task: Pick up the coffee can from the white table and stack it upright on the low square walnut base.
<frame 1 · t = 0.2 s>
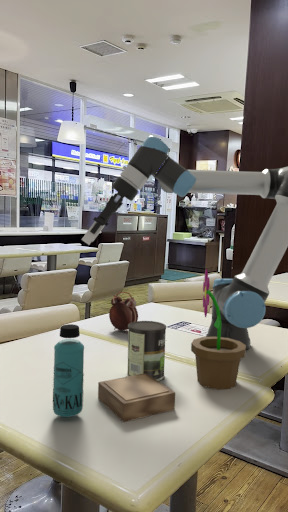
hand: (87, 240, 127), 35 cm above the table, tool tilted 35°, fingers open, 13 cm apart
flowerpot: (216, 382, 113), on the table
beverage bottle: (68, 417, 91), on the table
alarm clock: (122, 331, 159), on the table
walnut base: (135, 403, 98), on the table
coffee can: (145, 376, 116), on the table
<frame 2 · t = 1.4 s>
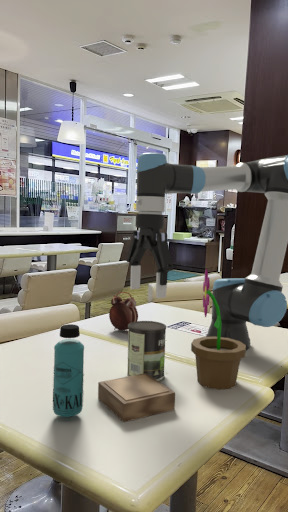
hand: (147, 293, 114), 23 cm above the table, tool pointing down, fingers open, 13 cm apart
nothing on the table moved.
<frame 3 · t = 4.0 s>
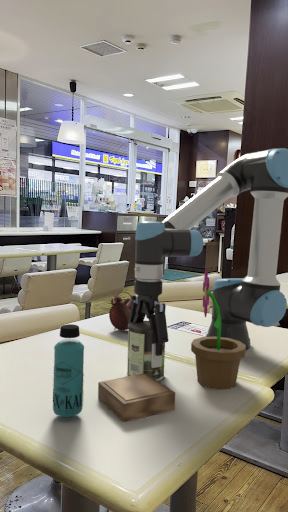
hand: (145, 360, 115), 4 cm above the table, tool pointing down, fingers closed on coffee can, 10 cm apart
coffee can: (145, 376, 116), on the table, touching gripper
everything else where it was.
when the fingers open (10 cm above the table, at t = 10.7 s): coffee can drops 1 cm, resting on walnut base.
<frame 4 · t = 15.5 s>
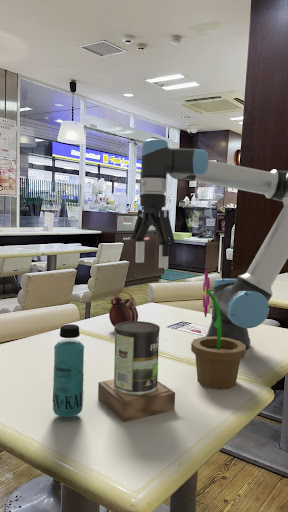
hand: (151, 265, 127), 29 cm above the table, tool pointing down, fingers open, 13 cm apart
coffee can: (135, 386, 98), point 4 cm above the table, touching walnut base
everything else where it was.
at the end: coffee can inside the target area on the walnut base (0.2 cm from its centre), point 4.0 cm above the walnut base's base; coffee can tilted 0°; the gripper is holding nothing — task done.
